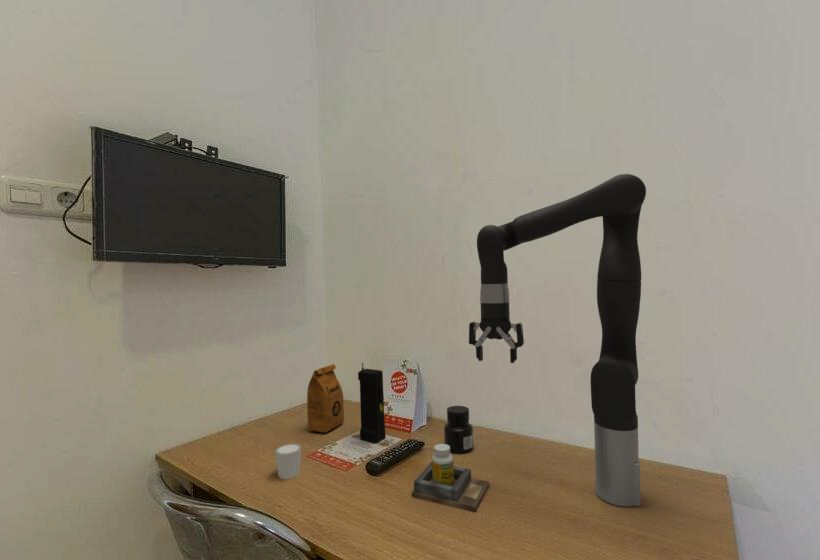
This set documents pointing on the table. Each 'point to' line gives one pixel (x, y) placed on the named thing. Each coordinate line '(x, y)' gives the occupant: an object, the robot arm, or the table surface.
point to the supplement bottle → (442, 465)
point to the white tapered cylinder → (288, 460)
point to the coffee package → (324, 400)
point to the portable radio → (371, 405)
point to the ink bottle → (458, 430)
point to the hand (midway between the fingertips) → (496, 361)
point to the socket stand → (451, 489)
